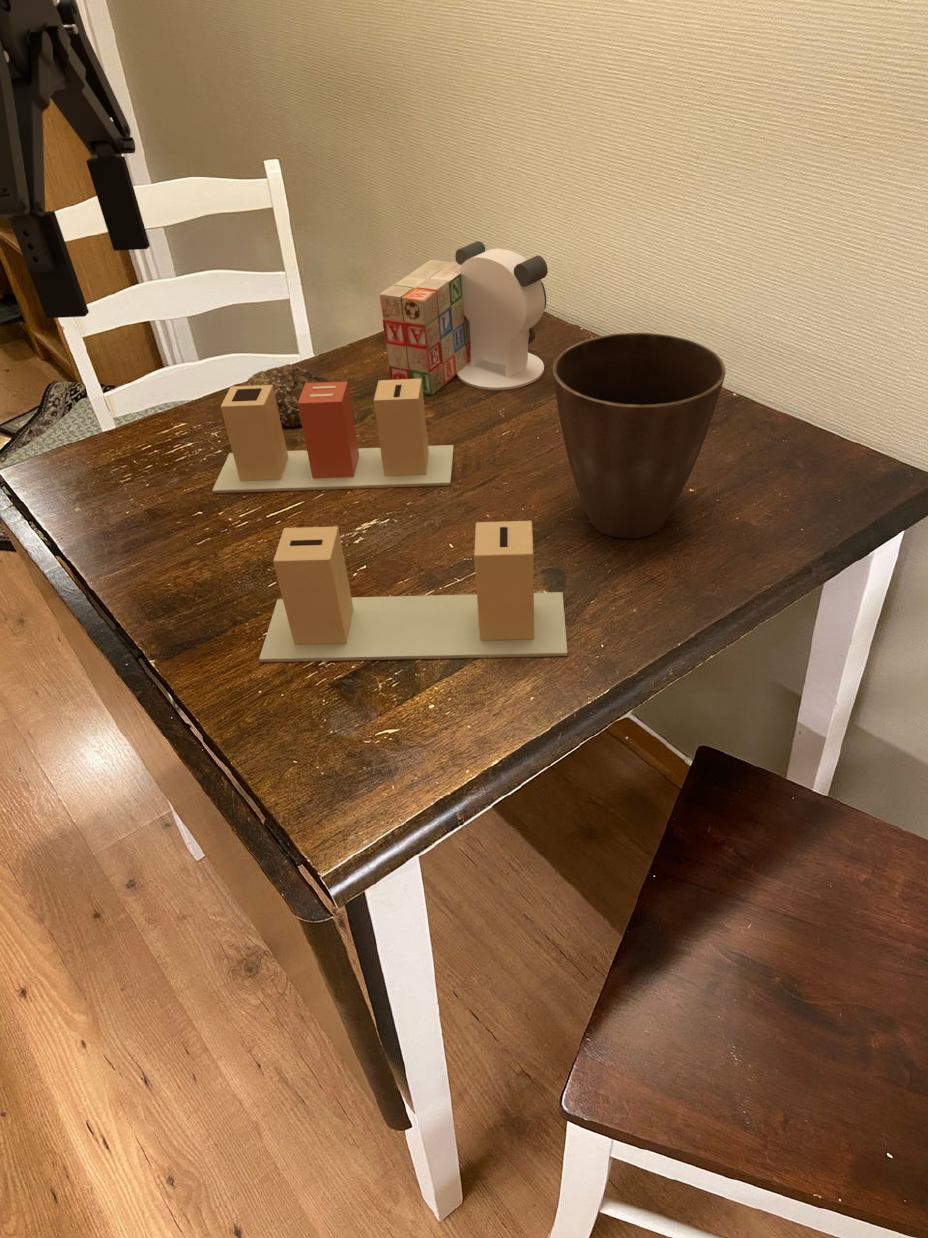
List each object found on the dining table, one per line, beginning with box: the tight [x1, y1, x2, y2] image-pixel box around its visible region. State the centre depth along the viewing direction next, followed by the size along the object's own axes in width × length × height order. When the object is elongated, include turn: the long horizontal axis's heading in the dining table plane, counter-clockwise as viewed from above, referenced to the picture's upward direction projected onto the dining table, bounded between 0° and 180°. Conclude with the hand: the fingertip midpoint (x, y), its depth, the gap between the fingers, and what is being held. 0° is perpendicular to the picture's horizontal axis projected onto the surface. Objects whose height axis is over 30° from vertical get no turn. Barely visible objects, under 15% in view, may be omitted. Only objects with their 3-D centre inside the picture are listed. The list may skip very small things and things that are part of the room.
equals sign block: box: [298, 381, 359, 478], centre depth 95 cm, size 5×5×9 cm
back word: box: [211, 379, 455, 494], centre depth 95 cm, size 26×8×10 cm, turn 88°
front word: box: [258, 520, 569, 663], centre depth 74 cm, size 26×8×10 cm, turn 88°
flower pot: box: [552, 332, 727, 540], centre depth 83 cm, size 15×15×16 cm
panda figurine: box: [454, 240, 549, 391], centre depth 110 cm, size 12×11×15 cm
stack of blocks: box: [379, 259, 471, 396], centre depth 114 cm, size 21×6×12 cm, turn 151°
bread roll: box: [239, 363, 333, 428], centre depth 109 cm, size 13×12×5 cm
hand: (102, 279), depth 65 cm, fingers open, 13 cm apart
